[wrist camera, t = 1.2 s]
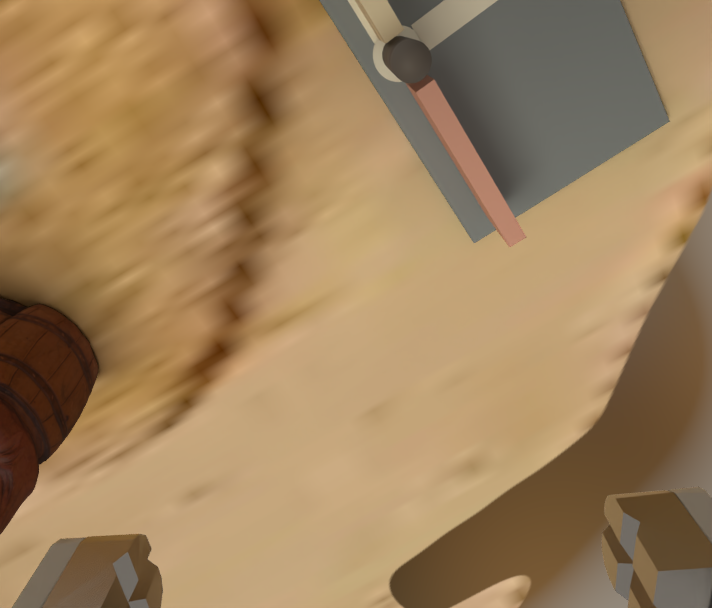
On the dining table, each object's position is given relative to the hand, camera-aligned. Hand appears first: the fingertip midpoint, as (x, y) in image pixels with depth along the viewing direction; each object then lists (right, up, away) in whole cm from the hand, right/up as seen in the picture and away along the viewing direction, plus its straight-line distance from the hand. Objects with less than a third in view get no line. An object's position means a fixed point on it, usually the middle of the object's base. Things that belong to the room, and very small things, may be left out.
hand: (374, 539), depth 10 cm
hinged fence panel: (+5, +13, +22) cm, 26 cm away
